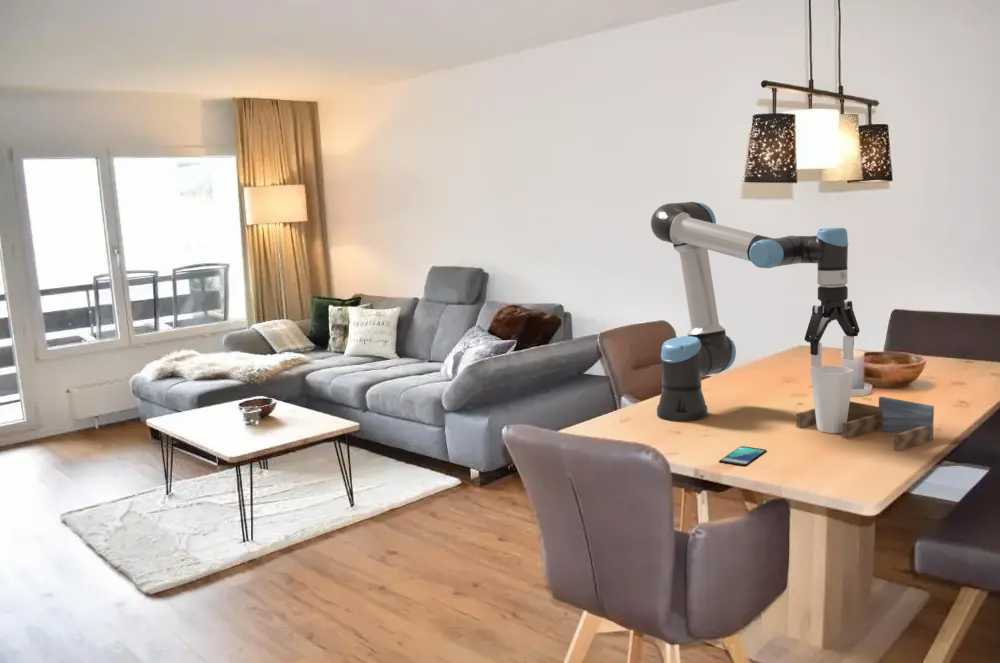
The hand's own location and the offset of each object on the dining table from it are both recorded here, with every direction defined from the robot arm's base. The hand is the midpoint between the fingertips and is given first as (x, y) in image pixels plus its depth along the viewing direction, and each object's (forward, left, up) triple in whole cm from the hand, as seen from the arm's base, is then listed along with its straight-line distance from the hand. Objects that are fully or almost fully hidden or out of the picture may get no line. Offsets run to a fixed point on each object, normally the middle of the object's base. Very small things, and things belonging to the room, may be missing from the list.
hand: (832, 363), depth 224 cm
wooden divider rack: (+3, -7, -19) cm, 20 cm away
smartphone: (-36, -1, -19) cm, 41 cm away
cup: (0, 0, -19) cm, 19 cm away
